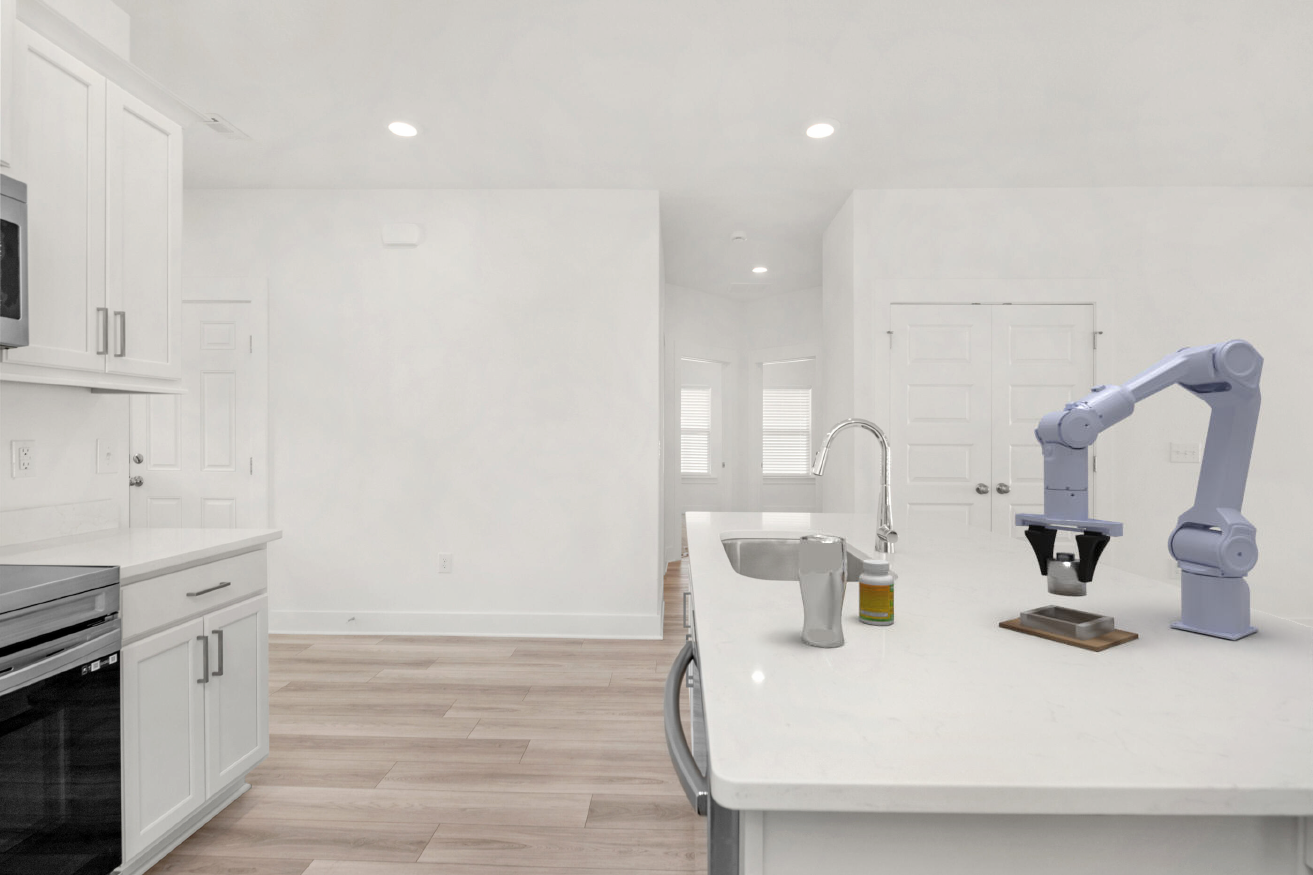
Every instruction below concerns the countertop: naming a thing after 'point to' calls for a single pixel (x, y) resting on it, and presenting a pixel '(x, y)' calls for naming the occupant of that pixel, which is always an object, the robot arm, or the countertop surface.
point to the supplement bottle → (876, 593)
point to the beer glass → (822, 588)
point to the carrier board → (1070, 627)
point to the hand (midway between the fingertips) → (1066, 578)
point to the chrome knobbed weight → (1065, 575)
